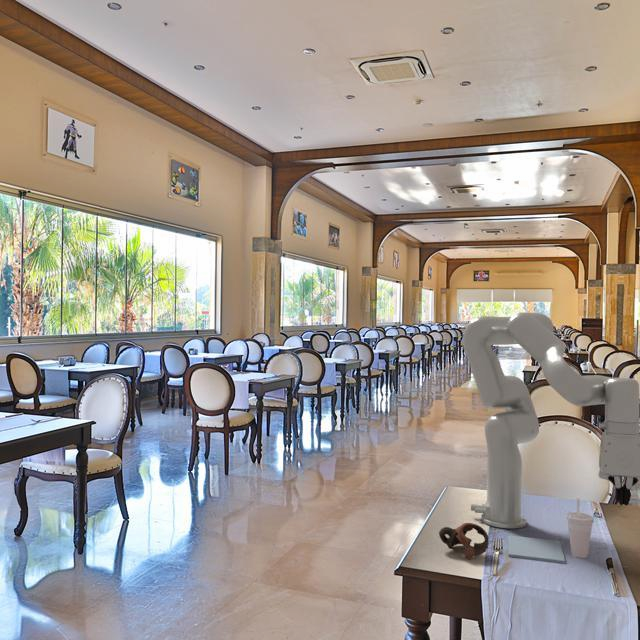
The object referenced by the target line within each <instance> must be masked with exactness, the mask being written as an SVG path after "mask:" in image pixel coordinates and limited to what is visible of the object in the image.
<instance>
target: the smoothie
mask: <svg viewBox="0 0 640 640" xmlns="http://www.w3.org/2000/svg"><path fill="white" fill-rule="evenodd" d="M566 520H567V527H568V535H569V543H570V552H571V555H572V556H573V557H576V558H580V559H586V558H588V557H589V556H588V555H589V550H590V549H589V548H590V542H591V536H592V529H593V528H592V527H593V524H594V523H595V517H593V516H592V515H590V514H587V513H583V512H580V498H577V499H576V511H575V512H568V513H566Z"/></svg>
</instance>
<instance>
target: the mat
mask: <svg viewBox="0 0 640 640" xmlns="http://www.w3.org/2000/svg"><path fill="white" fill-rule="evenodd" d="M507 551H508V552H507V555H508V557H510V558H519V559H527V560H534V561H535V560H536V561H543V562H551V563H558V564H560V563H561V564H566V559H565V555H564V552H563V548H562V544H561V541H560V540H554V539H553V540H552V539H545V538H535V537H528V536H527V537H526V536H517V535H509V534H508V535H507Z"/></svg>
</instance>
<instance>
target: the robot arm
mask: <svg viewBox="0 0 640 640" xmlns="http://www.w3.org/2000/svg"><path fill="white" fill-rule="evenodd" d="M554 330H555V329H554V323H553V322H552V319H550V317H549V316H548V315H546V314H543V313H540V312H539V313H538V312H526V311H525V312H519V313H515V314H514V315H512V316H490V315H489V316H488V315H486V316H480V317H476V318H474V319H472V320H471V321H469V322H468V323H467V325H466V327H465V328H464V332H463V335H462V346H463V350H464V353H465V355H466V358H467V360H468V363H469V365H470V369H471V373H472V375H473V379H474V382H475V385H476V389H477V392H478V396H479V398H480V401H481V404H482V405H483V406H484V407H486V408H487V409H494V410H495V409H504V411H502V412H498V413H494V414H493V415H491V416H489V418H488V419H487V420H486V422H485V426H484V436H485V441H486V449H487V478H486V480H487V481H486V483H487V484H486V485H487V486H486V501H485V504H483V503H482V504H476V503H471V504H470V511H472V512H474V513H475V514H481V515H480V519H481V521H482V522H483V523H484V524H486V525H488V526H491V527H495V528H499V529H500V528H501V529H512V530H513V529H521V528H524V527H525V526H526V525H527V524H528V523H527V522H528V521H527V519H526V518H525V517H524V516H522V484H523V483H522V481H523V477H522V476H523V465H522V464H523V461H522V455H521V452H520V449H519V445H520V444H525V443H529V442H532V441H534V440H535V439H536V438H537V437H538V435H539V433H540V422H539V419H538V418H539V417H538V415H537V412H536V409H535V406H534V403H533V400H532V397H531V393H530V391H529V388H528V387H527V385H526V383H525V382H524V381H523V380H522V379H520V378H519V377H517V376H515V375H505V374H504V371H503V368H502V365H501V361H500V359H499V358H498V356H497V354H496V353H495V351H494V350H493V349H492V347H491V346H492V345H493V346H500V345H501V346H505V345H506V346H507V345H510V346H511V345H518V346H520V347H521V348H522V349H524V351H525V352H526V353H528V355H530V356H531V357H532V358H533V359H534V360H535V361H536V362H537V363H538V364H539V366H541V367H540V368H541V371H542V373H543V376H544V378H545V380H546V381H547V383H548V384H549V385H550V387H551V388H552V389H553V390H554V391H555V392H556V393H558V395H560V397H562V398H563V399H564V400H565V401H566V402H568V403H570V404H571V405H574V406H576V407H587V406H588V407H589V406H598V405H604V421H602V422H598V428H599V429H602V430H604V431H603V432H602V434H601V439H600V447H599V458H598V459H599V460H598V464H599V465H598V467H599V470H598V473H597V474H598V477H599V478H600V479H603V480H607V481H609V482H610V483H611V484H612V485H613V486H614V487H615V488H614V489H615V491H614V492H615V493H614V495H615V496H614V497H615V500H616V501H617V503H618V504H619V505H620V506H623V505H624V506H628V502H630V501H631V489H632V487H634V486H635V485H636V484H637V483H640V383H639V382H638V380H637V379H635V378H632V377H631V378H630V377H611V376H605V375H600V374H593V375H591V374H589V375H588V374H587V375H581V374H579V373H578V372H577V371H576V370H575V369H574V368H572V367H571V366H570V365H569V364H568V362H567V361H566V360H565V359H564V354H565V352H566V344H565V343H564V341H563V340H562V339H561V338H559V337H558V336H557V335H556V334H555V333H554ZM620 477H623V478H624V482H623V484H621V478H620Z"/></svg>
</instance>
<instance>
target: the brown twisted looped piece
mask: <svg viewBox="0 0 640 640" xmlns="http://www.w3.org/2000/svg"><path fill="white" fill-rule="evenodd" d="M472 530H475V531H476V533H477V534H479V535H481V536H482V537H483V538H484V540H483V542H480V543H479V542H478V543H477V542H473V543H474V544H473V545H471V543H472V540H473V539H471V538H469V537H467V536H466V534H467V533H468V532H471V531H472ZM446 535H447V536H448V537H447V536H446ZM438 536H439V538H440V539H441V541H442V543H444V544H445V545H446V546H447V548H448V549H450V550H451V549H452V548H454V547H456V546H457V545H462V546H463V547H464V548H465V549H466V552H465V554H464V558H465V559H467V560H469V561H471V560H472V559H473V558H474V557H478V556H481V555H482V554H484V553H486V552H487V549H488V548H489V534H488V532H486V530H485V529H484V528H483V527H482V526H480V525H479V524H476V523H473V522H465V523H462V524H461V525H460V526H457V527H455V528H451V527H448V526H444V527H442V528H441V529H440V530H439V532H438Z"/></svg>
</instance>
